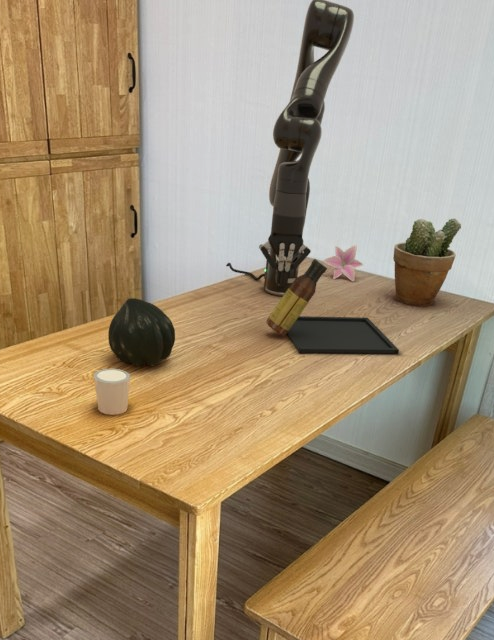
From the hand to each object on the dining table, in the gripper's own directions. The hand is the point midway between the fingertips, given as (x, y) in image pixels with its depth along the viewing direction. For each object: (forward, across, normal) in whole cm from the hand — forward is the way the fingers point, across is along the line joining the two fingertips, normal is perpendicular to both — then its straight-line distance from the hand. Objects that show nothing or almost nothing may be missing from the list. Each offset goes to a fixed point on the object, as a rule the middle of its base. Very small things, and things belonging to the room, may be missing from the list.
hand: (280, 285), depth 173 cm
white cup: (+13, +42, +42) cm, 61 cm away
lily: (+13, -35, -56) cm, 67 cm away
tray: (+13, -16, 0) cm, 21 cm away
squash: (+13, +35, +17) cm, 41 cm away
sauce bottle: (+11, +1, 0) cm, 11 cm away
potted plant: (+13, -52, -33) cm, 63 cm away
